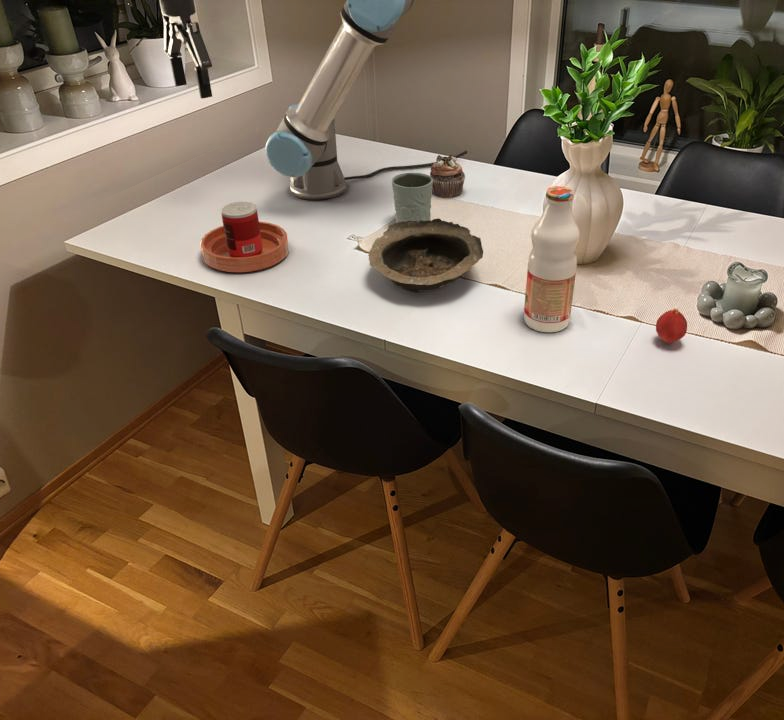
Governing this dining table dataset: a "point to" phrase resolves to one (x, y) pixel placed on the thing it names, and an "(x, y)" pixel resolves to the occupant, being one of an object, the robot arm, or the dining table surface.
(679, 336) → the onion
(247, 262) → the bowl
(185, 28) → the robot arm
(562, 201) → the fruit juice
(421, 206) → the green embossed cup
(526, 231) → the dining table surface
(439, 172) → the cupcake
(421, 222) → the stone bowl
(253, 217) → the canned food
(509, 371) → the dining table surface
